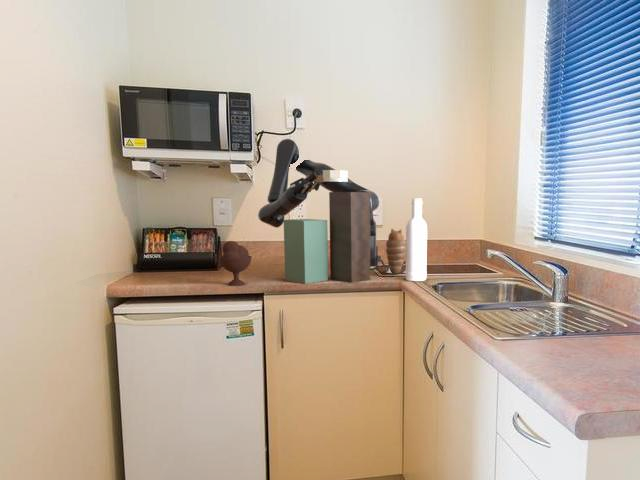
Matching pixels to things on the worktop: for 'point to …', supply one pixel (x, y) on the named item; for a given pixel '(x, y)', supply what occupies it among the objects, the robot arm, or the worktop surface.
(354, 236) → the stand
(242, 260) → the ice cream bowl
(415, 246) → the bottle
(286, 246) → the box
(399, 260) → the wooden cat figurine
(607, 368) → the worktop surface
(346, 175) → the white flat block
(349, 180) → the robot arm
